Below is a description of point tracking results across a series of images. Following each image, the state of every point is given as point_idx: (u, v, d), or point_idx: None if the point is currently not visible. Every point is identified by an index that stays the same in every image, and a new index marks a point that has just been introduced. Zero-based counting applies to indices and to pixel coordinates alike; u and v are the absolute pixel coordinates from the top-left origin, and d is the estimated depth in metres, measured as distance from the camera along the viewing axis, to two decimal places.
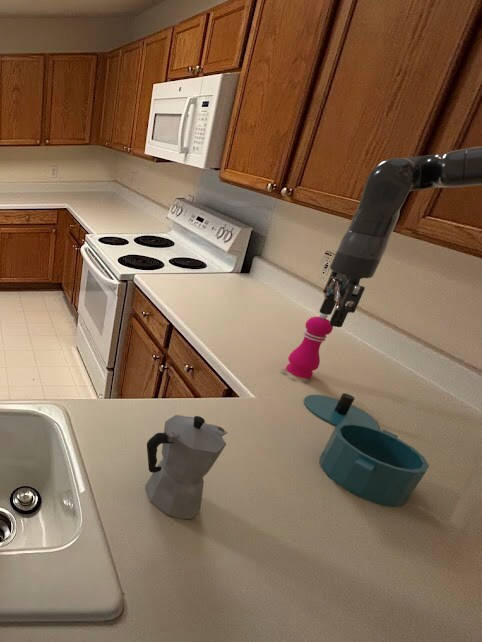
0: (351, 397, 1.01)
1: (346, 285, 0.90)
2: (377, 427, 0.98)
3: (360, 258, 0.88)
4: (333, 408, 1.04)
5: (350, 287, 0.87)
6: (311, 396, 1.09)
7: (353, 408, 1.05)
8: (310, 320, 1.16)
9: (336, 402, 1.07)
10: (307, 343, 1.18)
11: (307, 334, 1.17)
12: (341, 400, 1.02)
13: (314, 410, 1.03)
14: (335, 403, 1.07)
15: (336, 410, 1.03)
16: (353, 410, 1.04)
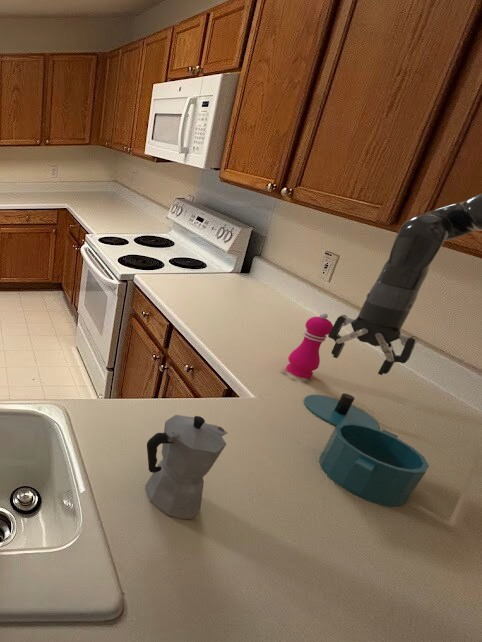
0: (351, 397, 1.01)
1: (396, 337, 0.91)
2: (377, 427, 0.98)
3: (408, 311, 0.89)
4: (333, 408, 1.04)
5: (414, 341, 0.89)
6: (311, 396, 1.09)
7: (353, 408, 1.05)
8: (310, 320, 1.16)
9: (336, 402, 1.07)
10: (307, 343, 1.18)
11: (307, 334, 1.17)
12: (341, 400, 1.02)
13: (314, 410, 1.03)
14: (335, 403, 1.07)
15: (336, 410, 1.03)
16: (353, 410, 1.04)
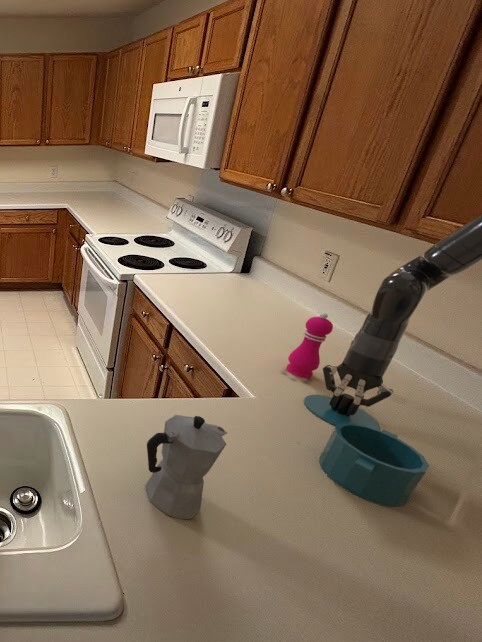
0: (351, 397, 1.01)
1: (378, 384, 0.96)
2: (377, 427, 0.98)
3: (390, 360, 0.94)
4: None
5: (389, 395, 0.94)
6: (311, 396, 1.09)
7: None
8: (310, 320, 1.16)
9: None
10: (307, 343, 1.18)
11: (307, 334, 1.17)
12: (341, 400, 1.02)
13: (314, 410, 1.03)
14: None
15: (336, 410, 1.03)
16: None
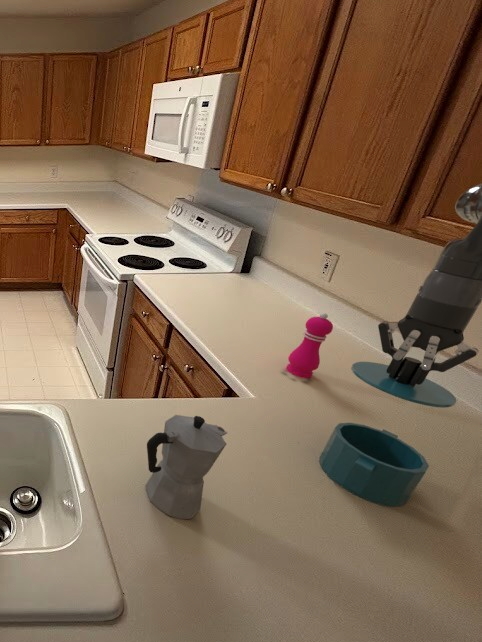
0: (417, 361, 0.77)
1: (458, 341, 0.72)
2: (454, 399, 0.75)
3: (476, 308, 0.70)
4: None
5: (474, 355, 0.71)
6: (360, 363, 0.85)
7: None
8: (310, 320, 1.16)
9: None
10: (307, 343, 1.18)
11: (307, 334, 1.17)
12: (403, 365, 0.78)
13: (367, 379, 0.79)
14: None
15: (396, 379, 0.79)
16: None
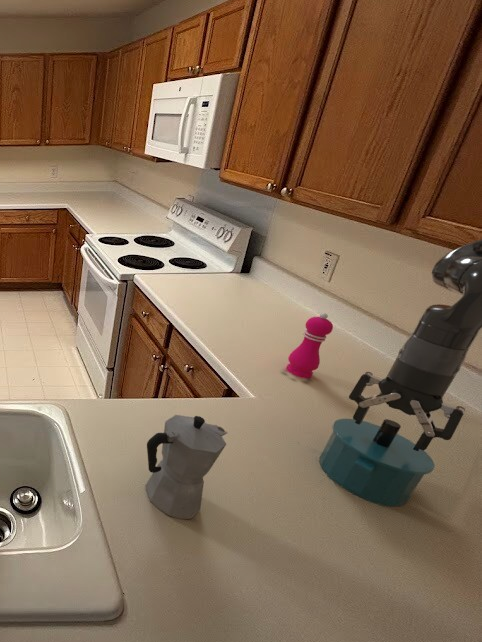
0: (396, 425, 0.78)
1: (437, 407, 0.72)
2: (432, 465, 0.75)
3: (454, 376, 0.70)
4: (371, 437, 0.81)
5: (462, 415, 0.70)
6: (341, 421, 0.86)
7: (396, 437, 0.82)
8: (310, 320, 1.16)
9: (374, 429, 0.84)
10: (307, 343, 1.18)
11: (307, 334, 1.17)
12: (382, 428, 0.79)
13: (347, 441, 0.80)
14: (373, 430, 0.83)
15: (376, 441, 0.80)
16: (397, 440, 0.81)
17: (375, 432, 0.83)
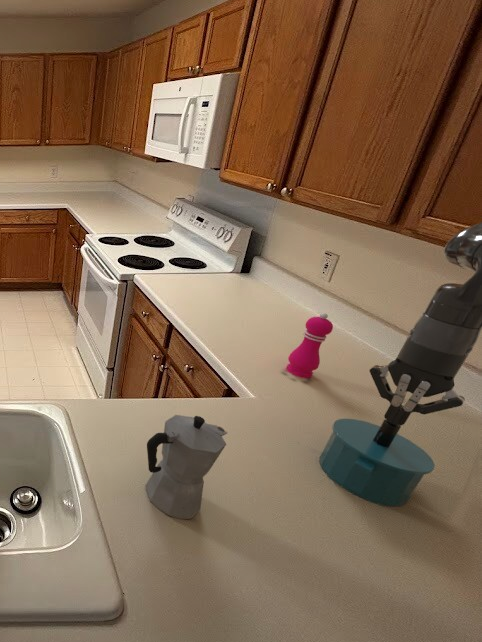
0: None
1: (449, 388, 0.71)
2: (432, 465, 0.75)
3: (467, 356, 0.69)
4: (371, 437, 0.81)
5: (459, 405, 0.70)
6: (341, 421, 0.86)
7: (396, 437, 0.82)
8: (310, 320, 1.16)
9: (374, 429, 0.84)
10: (307, 343, 1.18)
11: (307, 334, 1.17)
12: (382, 428, 0.79)
13: (347, 441, 0.80)
14: (373, 430, 0.83)
15: (376, 441, 0.80)
16: (397, 440, 0.81)
17: (375, 432, 0.83)
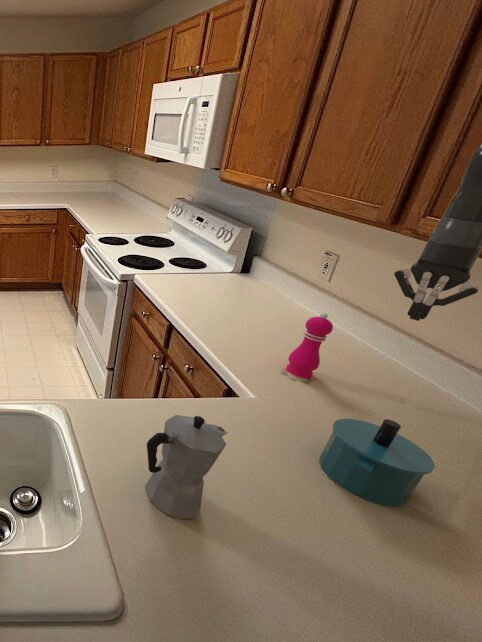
0: (396, 425, 0.78)
1: (465, 279, 0.82)
2: (432, 465, 0.75)
3: (481, 248, 0.80)
4: (371, 437, 0.81)
5: (475, 293, 0.81)
6: (341, 421, 0.86)
7: (396, 437, 0.82)
8: (310, 320, 1.16)
9: (374, 429, 0.84)
10: (307, 343, 1.18)
11: (307, 334, 1.17)
12: (382, 428, 0.79)
13: (347, 441, 0.80)
14: (373, 430, 0.83)
15: (376, 441, 0.80)
16: (397, 440, 0.81)
17: (375, 432, 0.83)
